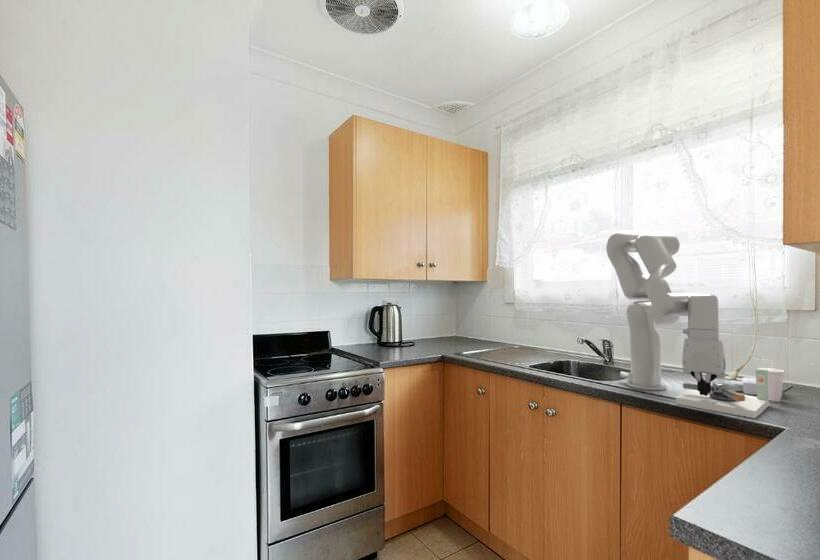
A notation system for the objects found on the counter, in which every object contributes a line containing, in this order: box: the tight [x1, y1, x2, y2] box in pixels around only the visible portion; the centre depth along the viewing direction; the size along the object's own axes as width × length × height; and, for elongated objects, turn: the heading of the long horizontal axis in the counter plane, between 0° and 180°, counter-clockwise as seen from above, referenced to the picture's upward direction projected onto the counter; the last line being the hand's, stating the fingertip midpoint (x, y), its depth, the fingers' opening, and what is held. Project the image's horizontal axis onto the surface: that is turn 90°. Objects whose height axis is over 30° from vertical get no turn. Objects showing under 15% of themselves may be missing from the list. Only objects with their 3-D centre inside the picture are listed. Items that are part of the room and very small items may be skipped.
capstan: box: [682, 381, 746, 401], centre depth 119 cm, size 17×15×4 cm
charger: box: [722, 377, 784, 399], centre depth 136 cm, size 5×9×15 cm
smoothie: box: [759, 355, 786, 403], centre depth 126 cm, size 6×6×14 cm
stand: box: [675, 367, 770, 419], centre depth 122 cm, size 19×19×11 cm
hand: (704, 394), depth 120 cm, fingers closed
